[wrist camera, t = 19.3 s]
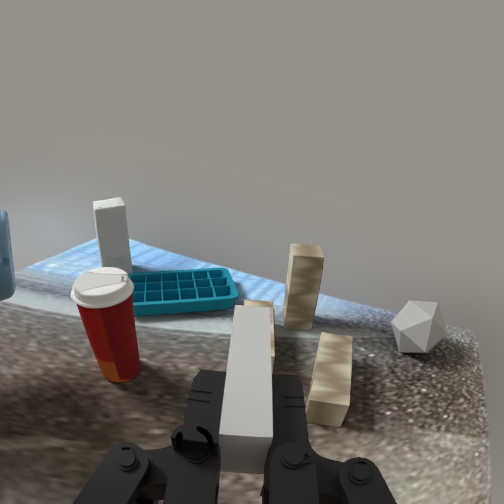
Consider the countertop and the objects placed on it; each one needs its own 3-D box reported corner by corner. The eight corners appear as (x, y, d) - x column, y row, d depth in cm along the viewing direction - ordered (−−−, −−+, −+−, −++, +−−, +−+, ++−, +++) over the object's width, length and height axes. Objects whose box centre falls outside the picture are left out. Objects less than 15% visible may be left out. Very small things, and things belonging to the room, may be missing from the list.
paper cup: (146, 348, 43) (133, 262, 37) (149, 386, 36) (131, 294, 31) (96, 352, 40) (75, 267, 35) (92, 390, 34) (62, 299, 28)
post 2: (283, 328, 50) (293, 255, 45) (282, 313, 54) (290, 243, 49) (313, 329, 50) (326, 257, 45) (309, 314, 54) (321, 245, 49)
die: (428, 336, 49) (411, 287, 49) (461, 342, 40) (445, 287, 40) (393, 362, 47) (375, 311, 47) (425, 373, 38) (406, 316, 39)
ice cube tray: (128, 286, 59) (126, 273, 58) (226, 280, 65) (226, 267, 63) (123, 320, 49) (120, 306, 48) (239, 311, 54) (240, 297, 53)
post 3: (309, 399, 31) (321, 331, 43) (303, 422, 33) (316, 355, 44) (352, 406, 30) (354, 336, 41) (342, 428, 32) (347, 360, 43)
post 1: (238, 354, 38) (244, 299, 50) (237, 378, 39) (243, 322, 51) (277, 356, 38) (275, 301, 50) (273, 380, 39) (272, 324, 51)
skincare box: (134, 279, 61) (127, 205, 55) (103, 284, 58) (93, 210, 52) (128, 262, 68) (122, 196, 62) (100, 267, 65) (92, 199, 59)
